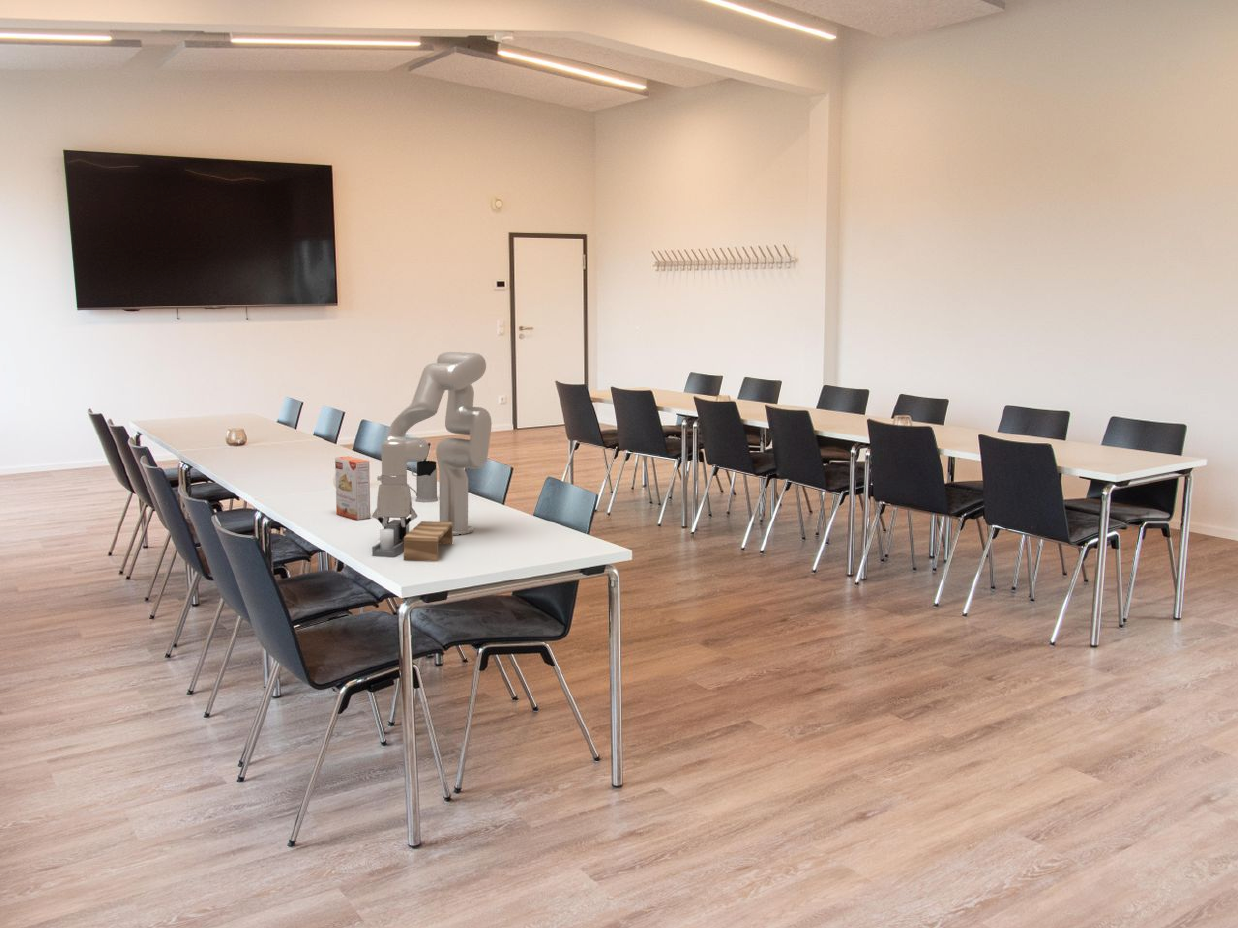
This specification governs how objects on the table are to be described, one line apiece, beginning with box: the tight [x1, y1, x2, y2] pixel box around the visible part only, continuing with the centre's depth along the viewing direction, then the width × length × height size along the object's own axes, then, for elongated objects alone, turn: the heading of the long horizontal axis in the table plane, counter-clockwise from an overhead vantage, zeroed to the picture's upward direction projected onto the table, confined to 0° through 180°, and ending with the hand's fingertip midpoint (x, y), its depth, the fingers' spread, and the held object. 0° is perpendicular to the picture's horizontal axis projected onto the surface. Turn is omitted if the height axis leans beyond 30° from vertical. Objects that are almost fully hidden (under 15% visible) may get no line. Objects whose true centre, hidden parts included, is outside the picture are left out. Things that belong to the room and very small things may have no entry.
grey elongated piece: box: [371, 519, 410, 558], centre depth 329 cm, size 20×7×8 cm, turn 171°
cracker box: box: [334, 456, 371, 521], centre depth 377 cm, size 14×6×21 cm, turn 45°
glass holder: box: [407, 460, 439, 503], centre depth 412 cm, size 9×14×15 cm, turn 89°
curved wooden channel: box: [403, 520, 454, 562], centre depth 327 cm, size 24×10×7 cm, turn 178°
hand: (395, 537), depth 329 cm, fingers closed on grey elongated piece, 3 cm apart
